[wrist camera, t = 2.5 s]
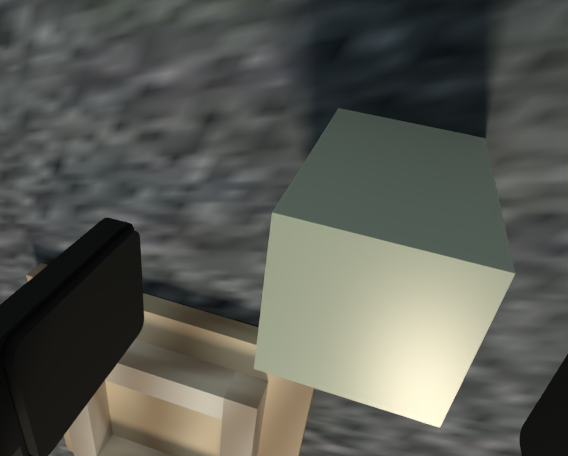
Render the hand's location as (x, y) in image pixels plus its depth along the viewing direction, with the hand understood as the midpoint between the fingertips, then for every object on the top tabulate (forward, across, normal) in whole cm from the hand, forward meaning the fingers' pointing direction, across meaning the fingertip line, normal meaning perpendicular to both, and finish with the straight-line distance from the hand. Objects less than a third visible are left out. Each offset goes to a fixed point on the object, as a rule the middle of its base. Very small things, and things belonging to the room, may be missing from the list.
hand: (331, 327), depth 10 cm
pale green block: (+7, -1, 0) cm, 7 cm away
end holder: (+7, +7, +15) cm, 18 cm away
